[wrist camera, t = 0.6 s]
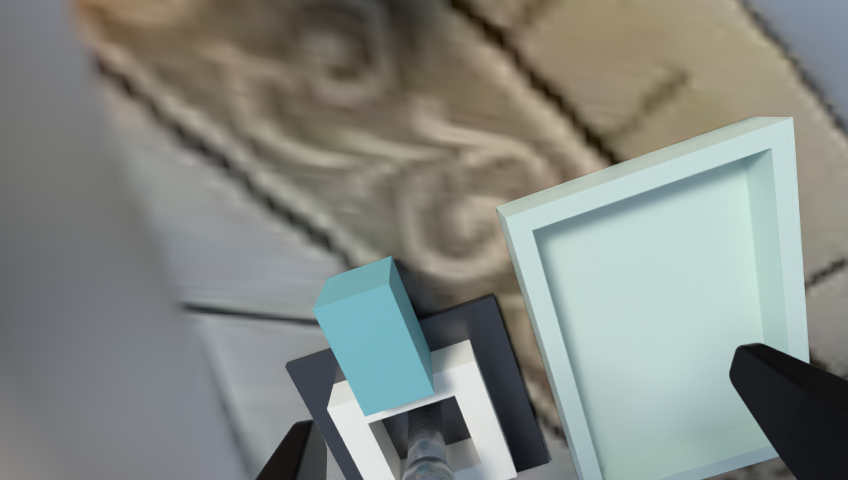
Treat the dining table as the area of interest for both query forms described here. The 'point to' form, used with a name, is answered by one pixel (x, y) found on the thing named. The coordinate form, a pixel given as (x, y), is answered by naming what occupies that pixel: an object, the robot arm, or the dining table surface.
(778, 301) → the tray
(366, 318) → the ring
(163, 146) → the dining table surface
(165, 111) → the dining table surface
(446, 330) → the peg stand
